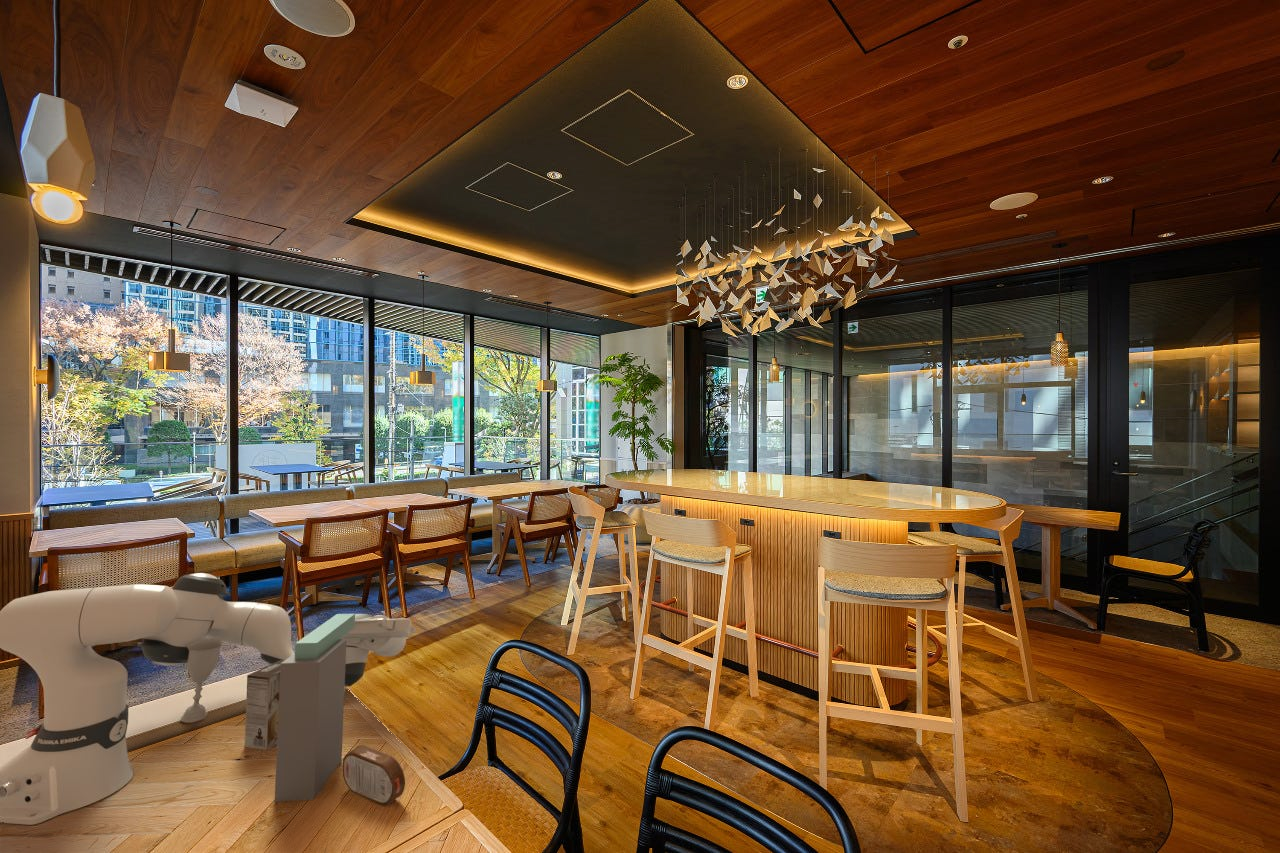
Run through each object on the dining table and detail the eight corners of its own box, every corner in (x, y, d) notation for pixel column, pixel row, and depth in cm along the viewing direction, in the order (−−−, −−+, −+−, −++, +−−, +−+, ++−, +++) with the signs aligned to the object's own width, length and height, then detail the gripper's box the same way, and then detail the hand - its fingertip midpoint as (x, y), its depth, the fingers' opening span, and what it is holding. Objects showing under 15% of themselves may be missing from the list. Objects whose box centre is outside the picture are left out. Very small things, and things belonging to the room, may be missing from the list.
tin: (405, 803, 99) (407, 758, 100) (391, 813, 96) (393, 767, 97) (352, 780, 106) (354, 738, 106) (338, 790, 103) (339, 746, 103)
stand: (274, 802, 99) (280, 663, 100) (306, 763, 111) (312, 640, 112) (313, 799, 100) (319, 662, 101) (341, 761, 112) (346, 639, 113)
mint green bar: (294, 658, 102) (295, 643, 102) (336, 627, 120) (336, 613, 120) (316, 658, 103) (317, 642, 103) (354, 626, 120) (355, 613, 120)
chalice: (194, 727, 124) (206, 652, 125) (167, 722, 124) (179, 648, 125) (219, 710, 132) (231, 640, 132) (193, 706, 132) (205, 636, 132)
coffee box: (279, 726, 125) (282, 658, 126) (301, 729, 124) (304, 661, 125) (242, 747, 116) (246, 674, 117) (266, 751, 115) (270, 677, 116)
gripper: (415, 644, 141) (402, 634, 130) (335, 646, 139) (314, 636, 127) (419, 620, 145) (407, 608, 133) (341, 622, 142) (321, 610, 130)
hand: (361, 622), depth 130 cm, fingers open, 8 cm apart
